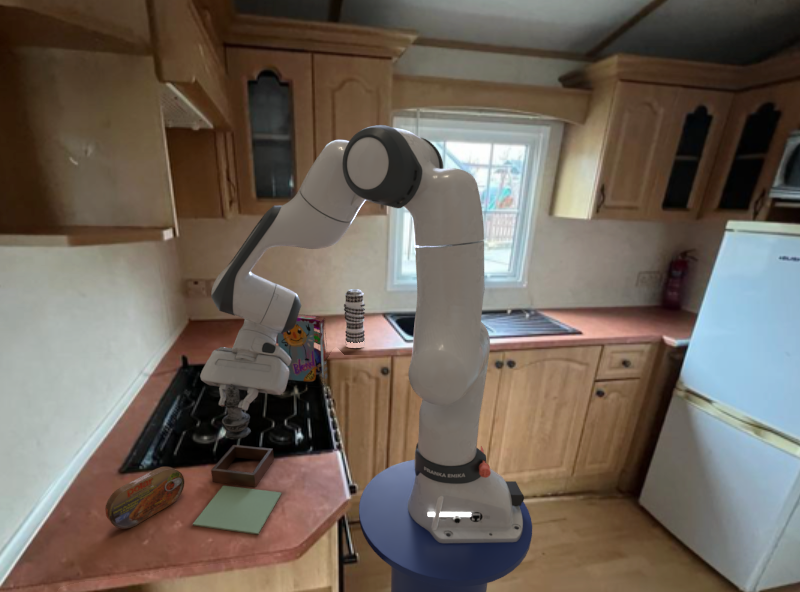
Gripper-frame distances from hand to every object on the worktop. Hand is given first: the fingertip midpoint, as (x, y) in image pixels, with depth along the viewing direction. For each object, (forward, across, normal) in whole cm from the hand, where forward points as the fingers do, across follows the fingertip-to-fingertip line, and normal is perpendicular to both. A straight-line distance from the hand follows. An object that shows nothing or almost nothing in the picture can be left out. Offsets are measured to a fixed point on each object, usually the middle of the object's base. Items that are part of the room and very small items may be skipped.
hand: (232, 407), depth 88 cm
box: (-24, -16, +51) cm, 59 cm away
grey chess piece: (+4, 0, +5) cm, 7 cm away
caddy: (+11, -2, +16) cm, 19 cm away
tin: (+24, -13, +3) cm, 27 cm away
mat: (+19, +5, +8) cm, 21 cm away
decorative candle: (-54, -8, +82) cm, 98 cm away
